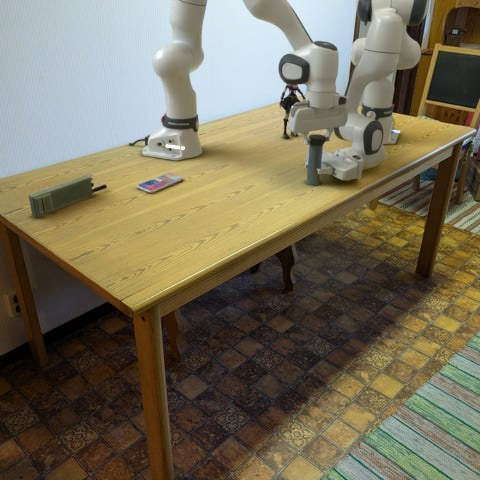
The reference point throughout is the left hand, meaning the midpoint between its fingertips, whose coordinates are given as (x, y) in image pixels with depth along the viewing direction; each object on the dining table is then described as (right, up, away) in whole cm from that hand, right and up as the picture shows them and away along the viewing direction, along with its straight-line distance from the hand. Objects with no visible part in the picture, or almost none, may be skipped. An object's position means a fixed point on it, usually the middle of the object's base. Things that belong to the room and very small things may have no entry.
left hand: (316, 143), depth 160 cm
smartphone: (-50, -13, +4) cm, 52 cm away
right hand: (-1, -8, +4) cm, 9 cm away
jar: (0, -12, +7) cm, 14 cm away
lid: (0, +1, -1) cm, 2 cm away
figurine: (-4, +12, +49) cm, 51 cm away
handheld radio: (-74, -20, -9) cm, 78 cm away
